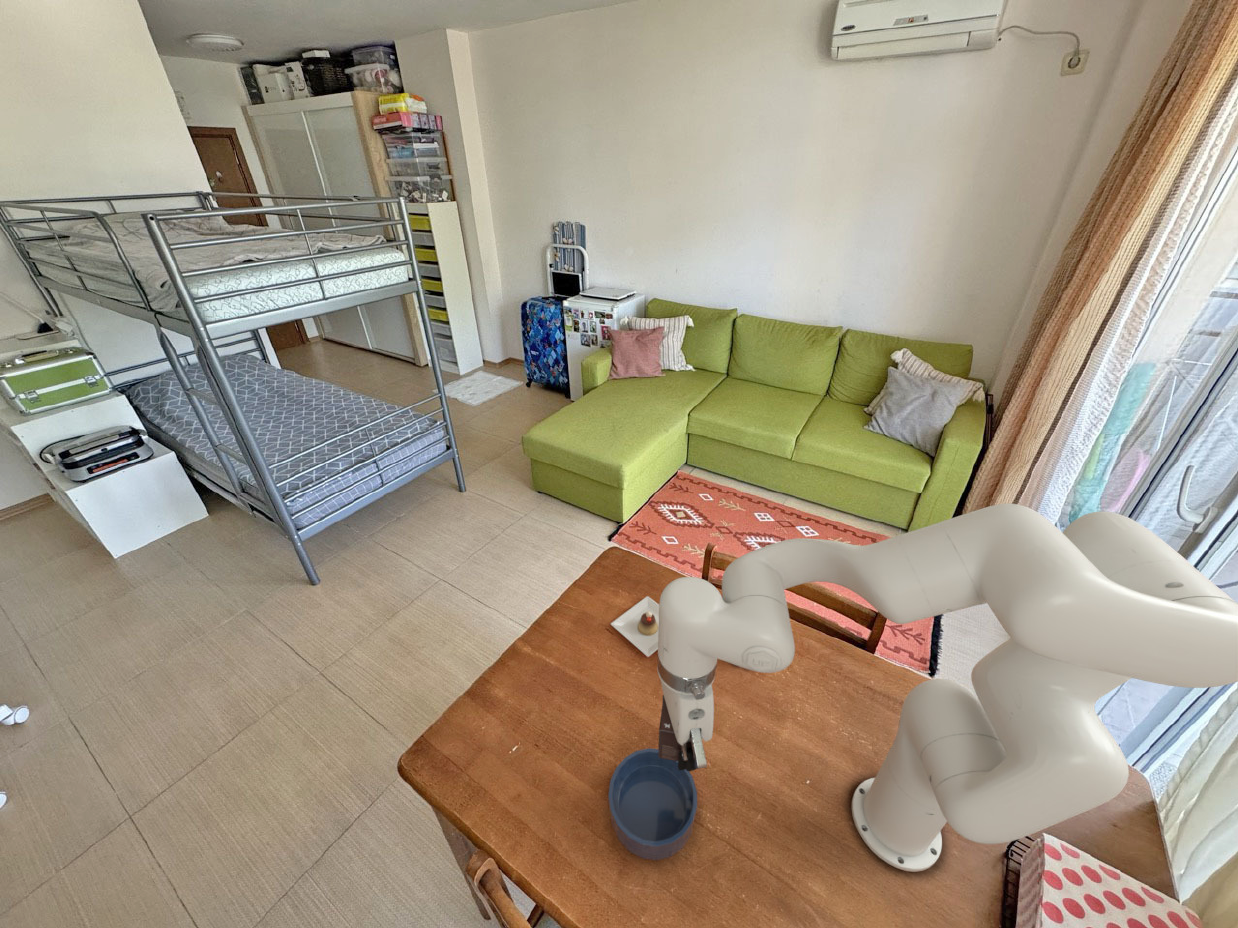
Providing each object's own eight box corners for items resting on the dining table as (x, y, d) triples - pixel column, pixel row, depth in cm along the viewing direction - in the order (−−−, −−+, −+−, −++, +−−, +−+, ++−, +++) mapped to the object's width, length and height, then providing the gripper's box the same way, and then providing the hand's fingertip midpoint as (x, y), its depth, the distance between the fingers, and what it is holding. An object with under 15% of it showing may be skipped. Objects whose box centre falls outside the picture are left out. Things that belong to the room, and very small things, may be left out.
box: (699, 767, 70) (702, 739, 66) (657, 758, 71) (658, 730, 67) (702, 726, 75) (705, 697, 71) (662, 718, 76) (664, 690, 72)
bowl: (680, 757, 87) (681, 740, 84) (706, 849, 76) (709, 833, 73) (603, 774, 85) (602, 757, 82) (618, 871, 74) (617, 855, 71)
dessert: (648, 660, 104) (648, 645, 101) (610, 626, 111) (609, 612, 109) (685, 628, 111) (686, 613, 108) (647, 598, 118) (647, 584, 116)
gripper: (741, 720, 56) (726, 795, 66) (693, 605, 71) (687, 679, 80) (677, 733, 55) (672, 807, 65) (642, 613, 70) (642, 688, 79)
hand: (680, 736), depth 73 cm, fingers closed on box, 7 cm apart
